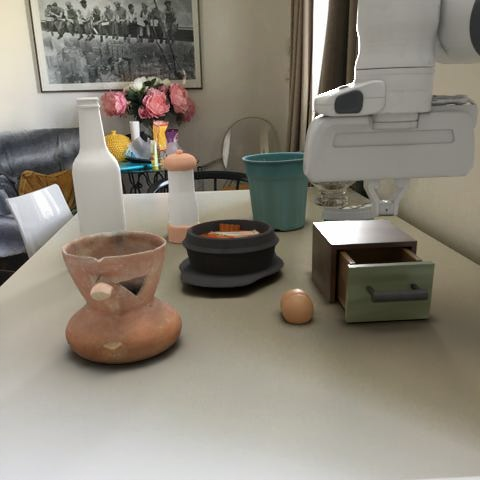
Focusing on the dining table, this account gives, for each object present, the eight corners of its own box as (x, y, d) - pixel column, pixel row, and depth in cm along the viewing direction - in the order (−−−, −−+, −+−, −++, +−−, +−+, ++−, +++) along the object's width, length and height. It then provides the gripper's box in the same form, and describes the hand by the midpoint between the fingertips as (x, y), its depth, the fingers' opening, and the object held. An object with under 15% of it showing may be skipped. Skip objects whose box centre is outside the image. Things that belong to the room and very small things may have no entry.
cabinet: (411, 302, 85) (417, 240, 82) (329, 307, 85) (331, 244, 81) (383, 273, 99) (386, 219, 95) (311, 277, 98) (312, 222, 95)
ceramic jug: (172, 380, 65) (162, 261, 59) (48, 381, 66) (27, 263, 60) (192, 320, 81) (185, 223, 76) (93, 321, 82) (79, 225, 77)
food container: (343, 267, 103) (345, 212, 99) (320, 260, 108) (321, 207, 104) (388, 254, 110) (392, 202, 106) (364, 248, 114) (367, 198, 110)
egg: (278, 313, 83) (278, 285, 81) (307, 312, 83) (308, 283, 82) (284, 330, 77) (284, 300, 75) (316, 329, 77) (316, 299, 76)
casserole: (203, 253, 114) (201, 211, 111) (295, 257, 110) (295, 214, 107) (156, 294, 92) (151, 244, 89) (268, 302, 88) (267, 249, 84)
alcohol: (93, 254, 116) (72, 97, 105) (135, 254, 115) (118, 96, 104) (77, 266, 108) (53, 98, 97) (122, 266, 107) (103, 97, 96)
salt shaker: (167, 236, 128) (160, 148, 121) (199, 234, 129) (194, 147, 122) (169, 244, 122) (162, 152, 114) (203, 242, 123) (198, 150, 115)
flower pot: (247, 235, 127) (245, 161, 121) (241, 220, 142) (239, 153, 136) (319, 232, 128) (321, 158, 122) (306, 217, 143) (306, 150, 137)
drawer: (441, 330, 73) (448, 273, 70) (354, 335, 73) (357, 277, 70) (397, 286, 90) (401, 238, 87) (326, 290, 89) (327, 241, 86)
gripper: (467, 93, 69) (454, 207, 74) (301, 98, 68) (299, 213, 73) (492, 94, 63) (476, 217, 68) (311, 99, 62) (308, 224, 67)
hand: (384, 215), depth 71 cm, fingers closed
